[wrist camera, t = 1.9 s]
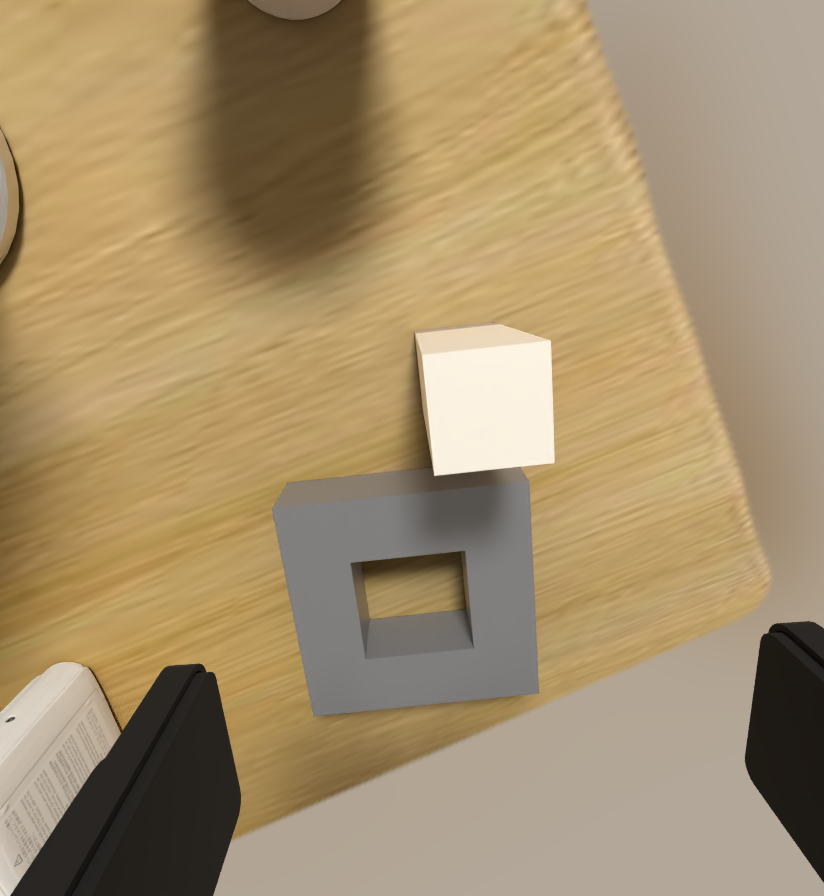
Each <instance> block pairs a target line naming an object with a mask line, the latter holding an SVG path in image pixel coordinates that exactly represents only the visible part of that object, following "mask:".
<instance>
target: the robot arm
mask: <svg viewBox="0 0 824 896" xmlns="http://www.w3.org/2000/svg"><path fill="white" fill-rule="evenodd" d="M18 214H19V192H18V182H17V177H16V172H15V167H14V162H13V158H12V156H11V153H10V151H9V148H8V145H7V143H6V140H5V137H4V135H3V133H2V131H1V129H0V264H1V263H2V261H3V260H4V258H5V257H6V255H7V254H8V251H9V248H10V246H11V243H12V241H13V238H14V235H15V232H16V226H17V220H18ZM745 763H746V768H747V771H748V774H749V776H750V778H751V780H752V782H753V783H754V785H755V786H756V788H757V789H758V790H759V792H760V793H761V795H762V796H763V798H764V799H765V800H766V802H767V803H768V805H769V806H770V808H771V809H772V810H773V812H774V813H775V815H776V816H777V817H778V819H779V820H780V822H781V823H782V824H783V826H784V827H785V829H786V830H787V832H788V833H789V834H790V836H791V837H792V839H793V840H794V841H795V843H796V844H797V846H798V847H799V848H800V850H801V851H802V853H803V854H804V856H805V857H806V858H807V860H808V861H809V863H810V864H811V865H812V867H813V868H814V869H815V871H816V872H817V874H818V875H819V877H820V878H821V879H822V881H823V882H824V628H822V627H821V626H819V625H818V624H816V623H814V622H810V621H806V622H792V623H777V624H774V625H772V626H771V628H770V629H769V633H767V634H764V635H763V636H762V638H761V641H760V649H759V656H758V664H757V671H756V679H755V686H754V693H753V701H752V709H751V716H750V723H749V731H748V738H747V746H746V753H745ZM240 805H241V792H240V786H239V782H238V777H237V772H236V768H235V763H234V759H233V754H232V749H231V745H230V740H229V735H228V731H227V726H226V722H225V717H224V712H223V708H222V703H221V698H220V694H219V689H218V685H217V680H216V677H215V674H214V673H213V672H206V670H205V667H204V666H203V665H202V664H188V665H174V666H167V667H165V668H164V669H163V670H162V671H161V673H160V674H159V676H158V677H157V679H156V681H155V682H154V684H153V685H152V687H151V688H150V690H149V691H148V693H147V694H146V696H145V697H144V699H143V700H142V702H141V704H140V705H139V707H138V708H137V710H136V711H135V713H134V714H133V716H132V717H131V719H130V720H129V722H128V724H127V725H126V727H125V728H124V730H123V731H122V733H121V734H120V736H119V737H118V739H117V740H116V742H115V743H114V745H113V747H112V748H111V750H110V751H109V753H108V754H107V756H106V757H105V758H104V759H103V760H101V761H100V762H99V764H98V765H97V766H96V767H95V768H94V770H93V771H92V772H91V774H90V775H89V777H88V778H87V780H86V781H85V783H84V785H83V786H82V788H81V789H80V791H79V792H78V794H77V795H76V797H75V798H74V800H73V801H72V803H71V804H70V806H69V807H68V809H67V810H66V812H65V813H64V815H63V816H62V818H61V819H60V821H59V822H58V824H57V825H56V827H55V828H54V830H53V831H52V833H51V835H50V836H49V838H48V839H47V841H46V842H45V844H44V845H43V847H42V848H41V850H40V851H39V853H38V854H37V856H36V857H35V859H34V860H33V862H32V863H31V865H30V866H29V868H28V869H27V871H26V872H25V874H24V875H23V877H22V878H21V880H20V881H19V883H18V884H17V886H16V888H15V889H14V891H13V892H12V894H11V895H10V896H213V894H214V891H215V888H216V885H217V882H218V879H219V875H220V872H221V869H222V866H223V863H224V859H225V857H226V854H227V851H228V847H229V844H230V841H231V838H232V835H233V832H234V829H235V826H236V823H237V820H238V816H239V812H240Z"/></svg>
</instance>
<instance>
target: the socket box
mask: <svg viewBox="0 0 824 896" xmlns="http://www.w3.org/2000/svg"><path fill="white" fill-rule="evenodd" d="M272 511H273V516H274V521H275V526H276V531H277V536H278V541H279V546H280V551H281V556H282V561H283V566H284V571H285V576H286V581H287V586H288V591H289V596H290V601H291V606H292V611H293V616H294V621H295V626H296V631H297V636H298V641H299V646H300V651H301V656H302V661H303V666H304V671H305V676H306V681H307V686H308V691H309V696H310V701H311V706H312V711H313V716H322V715H332V714H342V713H352V712H362V711H372V710H382V709H391V708H401V707H411V706H421V705H431V704H441V703H451V702H461V701H470V700H480V699H490V698H500V697H510V696H520V695H530V694H539V682H538V661H537V639H536V618H535V596H534V575H533V553H532V532H531V510H530V489H529V480H528V479H527V477H526V476H525V474H524V473H523V471H522V470H521V468H520V467H512V468H502V469H493V470H484V471H475V472H465V473H456V474H447V475H438V476H434V471H433V467H430V468H421V469H412V470H402V471H393V472H384V473H374V474H365V475H356V476H347V477H337V478H328V479H319V480H310V481H300V482H291V483H287V485H286V486H285V488H284V490H283V491H282V493H281V494H280V496H279V498H278V499H277V501H276V503H275V504H274V506H273V508H272ZM458 551H461V559H462V570H463V581H464V592H465V603H466V609H465V610H455V611H446V612H436V613H427V614H417V615H407V616H398V617H388V618H378V619H370V618H369V612H368V605H367V599H366V592H365V585H364V579H363V572H362V566H361V562H363V561H372V560H382V559H391V558H401V557H410V556H420V555H429V554H439V553H448V552H458Z"/></svg>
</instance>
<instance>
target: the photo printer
mask: <svg viewBox="0 0 824 896" xmlns="http://www.w3.org/2000/svg"><path fill="white" fill-rule="evenodd" d="M120 734H121V733H120V730H119V728H118V726H117V723H116V721H115V719H114V717H113V715H112V712H111V710H110V708H109V706H108V703H107V701H106V699H105V697H104V694H103V693H102V691H101V689H100V686H99V684H98V683H97V681H96V679H95V677H94V675H93V674H92V672H91V671H90V670H89V668H87V667H84V666H83V665H81V664H79V663H75V662H62V663H58V664H55V665H53V666H51V667H49V668H48V669H47V670H46V671H45V672H44V673H43V674H42V675H39V676H37V677H36V678H35V679H33V680H32V681H31V682H30V683H29V684H28V685H27V686H26V687H25V688H24V689H23V690H22V691H21V692H20V693H19V694H18V695H17V696H16V697H15V698H14V699H13V700H12V701H11V702H10V703H9V704H8V705H7V706H6V707H5V708H4V709H3V710H2V711H1V712H0V896H10V895H11V894H12V892H13V891H14V889H15V888H16V886H17V884H18V883H19V881H20V880H21V878H22V877H23V875H24V874H25V872H26V871H27V869H28V868H29V866H30V865H31V863H32V862H33V860H34V859H35V857H36V856H37V854H38V853H39V851H40V850H41V848H42V847H43V845H44V844H45V842H46V841H47V839H48V838H49V836H50V835H51V833H52V831H53V830H54V828H55V827H56V825H57V824H58V822H59V821H60V819H61V818H62V816H63V815H64V813H65V812H66V810H67V809H68V807H69V806H70V804H71V803H72V801H73V800H74V798H75V797H76V795H77V794H78V792H79V791H80V789H81V788H82V786H83V785H84V783H85V781H86V780H87V778H88V777H89V775H90V774H91V772H92V771H93V770H94V768H95V767H96V766H97V765H98V764H99V762H100V761H101V760H103V759H104V758H105V757H106V756H107V754H108V753H109V751H110V750H111V748H112V747H113V745H114V743H115V742H116V740H117V739H118V737H119V736H120Z"/></svg>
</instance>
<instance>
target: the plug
mask: <svg viewBox="0 0 824 896" xmlns="http://www.w3.org/2000/svg"><path fill="white" fill-rule="evenodd" d="M414 332H415V341H416V351H417V360H418V370H419V380H420V389H421V399H422V408H423V414H424V420H425V425H426V431H427V437H428V443H429V448H430V454H431V460H432V466H433V471H434V476H438V475H447V474H456V473H465V472H475V471H484V470H493V469H502V468H512V467H521V466H530V465H539V464H549V463H555V461H554V429H553V397H552V365H551V341H550V340H547V339H544V338H541V337H538V336H535V335H532V334H528V333H525V332H522V331H519V330H516V329H513V328H510V327H507V326H503V325H500V324H497V323H494V322H491V323H482V324H473V325H464V326H455V327H446V328H437V329H428V330H419V331H414Z"/></svg>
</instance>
